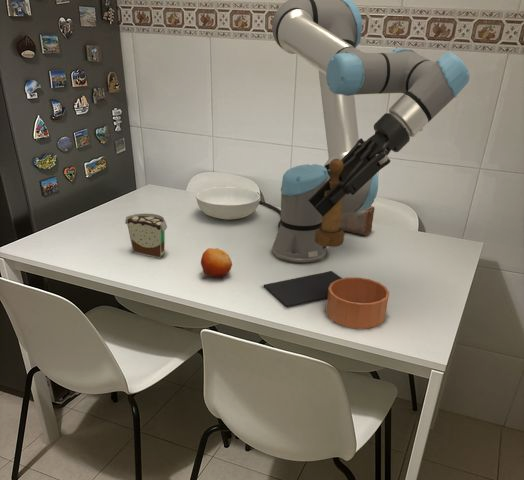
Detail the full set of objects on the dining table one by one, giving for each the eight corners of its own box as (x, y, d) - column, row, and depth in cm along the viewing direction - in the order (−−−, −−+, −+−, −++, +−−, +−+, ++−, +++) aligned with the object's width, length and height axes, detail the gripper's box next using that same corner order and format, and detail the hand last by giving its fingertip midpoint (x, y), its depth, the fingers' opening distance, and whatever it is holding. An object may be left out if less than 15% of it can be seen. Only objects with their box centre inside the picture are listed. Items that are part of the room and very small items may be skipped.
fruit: (194, 263, 136) (209, 238, 133) (220, 277, 139) (235, 253, 135) (193, 277, 129) (208, 251, 126) (220, 291, 132) (236, 266, 129)
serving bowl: (259, 227, 164) (259, 205, 160) (193, 225, 164) (192, 204, 160) (260, 206, 182) (260, 186, 178) (200, 204, 182) (199, 185, 178)
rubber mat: (263, 286, 129) (263, 284, 128) (331, 272, 136) (331, 270, 136) (286, 307, 120) (286, 305, 120) (357, 291, 128) (358, 289, 127)
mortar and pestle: (342, 248, 114) (351, 164, 104) (313, 245, 115) (319, 162, 105) (344, 237, 120) (353, 156, 110) (316, 235, 121) (322, 154, 111)
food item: (324, 229, 164) (327, 198, 158) (334, 222, 170) (337, 191, 164) (364, 237, 158) (369, 206, 153) (374, 230, 164) (378, 199, 158)
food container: (177, 251, 146) (175, 217, 141) (165, 259, 142) (162, 224, 136) (141, 244, 150) (138, 210, 145) (128, 251, 146) (124, 216, 140)
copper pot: (315, 306, 121) (317, 283, 117) (362, 296, 126) (365, 273, 122) (348, 333, 111) (351, 309, 107) (397, 320, 116) (401, 297, 113)
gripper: (427, 148, 101) (338, 233, 107) (392, 130, 115) (315, 207, 121) (407, 119, 97) (315, 209, 103) (373, 104, 111) (294, 185, 117)
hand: (315, 208), depth 112 cm, fingers closed on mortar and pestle, 4 cm apart
